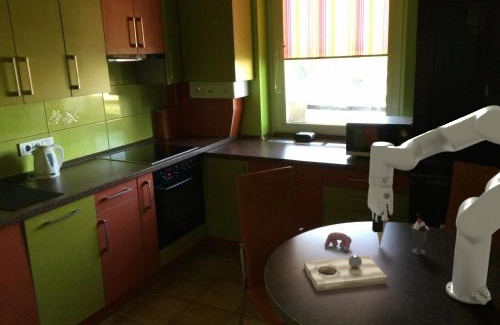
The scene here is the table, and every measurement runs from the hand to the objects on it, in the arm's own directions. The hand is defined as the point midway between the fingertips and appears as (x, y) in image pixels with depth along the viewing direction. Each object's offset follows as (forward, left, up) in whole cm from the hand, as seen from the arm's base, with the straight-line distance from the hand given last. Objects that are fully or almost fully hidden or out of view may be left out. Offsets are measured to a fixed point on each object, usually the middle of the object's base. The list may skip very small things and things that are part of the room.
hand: (377, 231), depth 149 cm
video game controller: (+22, +6, -16) cm, 28 cm away
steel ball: (+1, +7, -11) cm, 13 cm away
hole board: (+1, +11, -16) cm, 20 cm away
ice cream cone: (+20, -11, -16) cm, 28 cm away
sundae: (+12, -23, -16) cm, 31 cm away
